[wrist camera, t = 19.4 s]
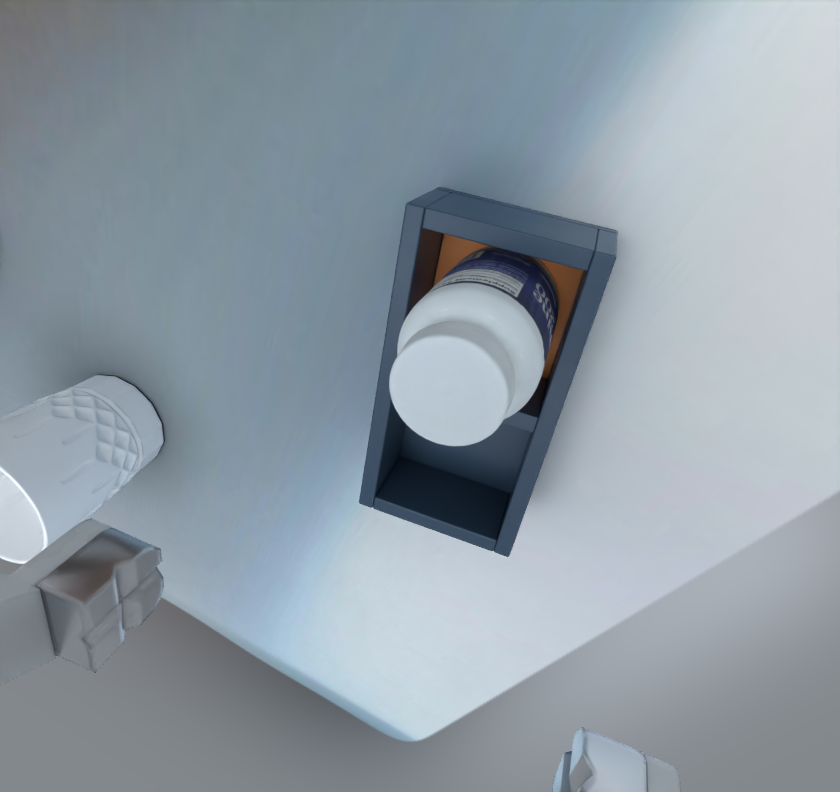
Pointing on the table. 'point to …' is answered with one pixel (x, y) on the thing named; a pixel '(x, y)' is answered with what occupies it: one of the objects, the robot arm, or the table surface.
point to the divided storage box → (518, 434)
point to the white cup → (69, 459)
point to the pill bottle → (474, 347)
